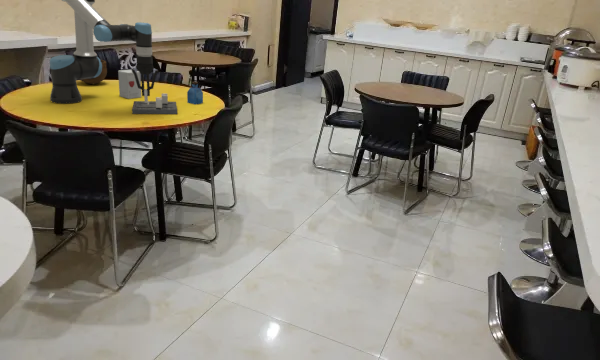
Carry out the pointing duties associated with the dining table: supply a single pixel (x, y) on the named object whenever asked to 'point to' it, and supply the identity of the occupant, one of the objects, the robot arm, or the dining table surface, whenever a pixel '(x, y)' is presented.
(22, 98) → the dining table surface
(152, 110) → the console
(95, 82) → the bowl
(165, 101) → the fader
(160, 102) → the fader
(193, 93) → the perfume bottle
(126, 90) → the supplement box
